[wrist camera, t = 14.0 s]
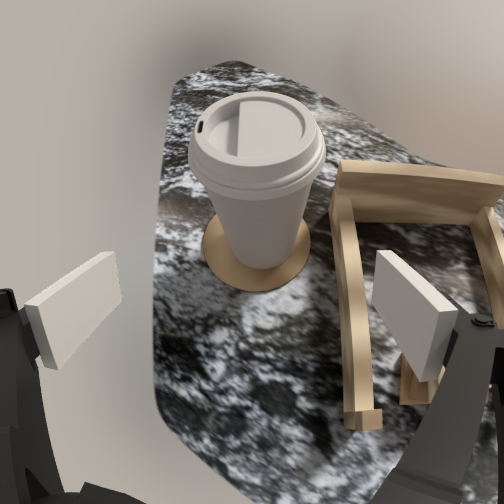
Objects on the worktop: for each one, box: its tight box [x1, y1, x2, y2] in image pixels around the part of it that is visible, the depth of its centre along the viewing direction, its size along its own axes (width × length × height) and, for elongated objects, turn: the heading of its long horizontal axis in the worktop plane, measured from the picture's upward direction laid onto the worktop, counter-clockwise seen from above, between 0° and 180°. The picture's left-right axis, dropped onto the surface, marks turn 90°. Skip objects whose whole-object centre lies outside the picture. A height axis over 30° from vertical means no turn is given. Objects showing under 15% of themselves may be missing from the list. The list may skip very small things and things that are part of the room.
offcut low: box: [399, 353, 429, 405], centre depth 25 cm, size 5×9×2 cm, turn 82°
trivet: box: [203, 214, 311, 292], centre depth 33 cm, size 11×11×1 cm
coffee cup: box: [188, 92, 326, 269], centre depth 26 cm, size 10×10×15 cm
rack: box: [329, 160, 504, 431], centre depth 25 cm, size 22×20×8 cm
